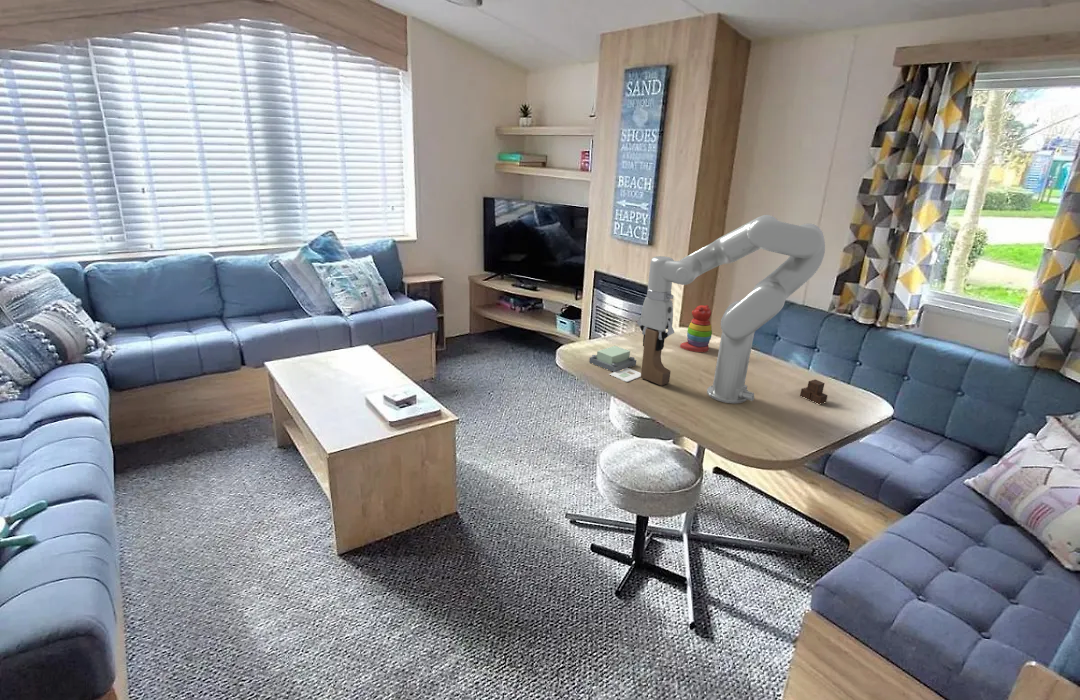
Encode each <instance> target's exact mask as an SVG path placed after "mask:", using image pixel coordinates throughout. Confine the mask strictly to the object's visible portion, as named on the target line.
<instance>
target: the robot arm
mask: <svg viewBox="0 0 1080 700" xmlns="http://www.w3.org/2000/svg"><path fill="white" fill-rule="evenodd" d="M759 250H763V251H764V250H765V251H768V252H772V253H777V254H781V255H785V256H788V258H786V259H785V261H784V262H782V263H781V264H780V265H779V266H778V267H777V268H775V270H773V271H772V272H771V273H770V274H768V275H767V276H766V277H764V278H763V279H761V280H760V281H759V282H758V283H756V284H755V286H754V287H753V288H752V290H751V291H750V292H749V293H748V294H747V295H745V297H744V298H742V299H741V300H736V301H734V302H732V303H730V304H729V306H727V307H726V309H725V311H724V313H723V315H722V317H721V320H720V330H721V337H720V341H719V348H718V352H717V353H718V354H717V359H716V365H715V370H714V371H715V372H714V377H713V382H712V385H710V386H708V387H707V389H706V394H707V395H708V396H709V397H710V398H712V399H713V400H716V401H718V402H722V403H726V404H742V403H744V402H746V401H751V402H753V401H754V400H755V393H754V392H752V391H749V390H748V385H747V384H746V379H747V374H748V373H747V372H748V369H749V368H748V367H749V362H750V359H751V352H752V347H753V342H754V337H755V333H756V331H757V330H758V329H760V328H762V327H763V326H764V325H765V324H767V323H768V322H770V320H772V319H773V318H775V316H777V315H778V314H779V312H781V311H782V309H783V308H784V305H785V303H786V300H787V299H788V298H789V297H791V296H792V295H793V294H794V293H795V292H797V291H798V290H799V289H800V288H801V287H803V285H805V283H808V281H809V280H810V279H811V278H813V277H814V276H815V274H816V273H817V271H818V270H819V268H820V266H821V265H822V262H823V260H824V257H825V251H826V242H825V235H824V232H823V230H822V229H821V227H819V226H818V225H817V224H815V223H804V224H801V225H799V224H794V223H789V222H785V221H784V222H783V221H780V220H778V219H777V218H776V217H775V216H773V215H770V214H763V215H760V216H758V217H755V218H754V219H752V220H750V221H748V222H747V223H745V224H743V225H740V226H739V227H738V228H736V229H734V230H731V231H730V232H728V233H726V234H724V235H722V236H720V237H719V238H716V239H715V240H714V241H713V242H711V243H709V244H707V245H705V246H704V247H701V248H699V249H698V250H695V251H694V252H693V253H692V252H691V253H690V254H689V255H687V256H685V257H683V258H681V259H680V260H674V259H673V258H672V257H669V256H661V255H660V256H659V255H658V256H657V255H656V256H653V257H652V258H651V259H650V264H649V273H648V284H647V293H646V296H645V297H644V301H643V304H642V307H641V313H640V314H641V315H640V318H638V320H637V321H636V324H637V325H638V326H639V328H640V331H641V334H642V335H643V338H642V346H643V347H644V340H645V331H646V328H651V329H654V330H658V337H659V339H657V344H656V351H660V350H663V349H664V346H665V339H667V338H668V337H669V336H671V335H674V334H675V330H674V327H673V321H674V306H673V298H674V295H673V294H672V287H673V283H674V284H677V285H680V286H681V285H682V286H686V285H689V284H691V283H693V282H694V281H695V280H696V278H698V277H699V276H701V275H703V274H705V273H706V272H709V271H711V270H713V269H715V268H717V267H719V266H722V265H727V264H728V265H729V264H732V263H735V262H737V261H738V260H741V259H742V258H745V257H747V256H748V255H750V254H752V253H755V252H756V251H759Z"/></svg>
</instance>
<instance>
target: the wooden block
mask: <svg viewBox="0 0 1080 700" xmlns="http://www.w3.org/2000/svg"><path fill="white" fill-rule="evenodd" d="M657 339H659V337H658V330H654V329H651V328H646V331H645V340H644V346H643V352H642V360H641V372H640V373H641V377H640V378H642V379H643V380H646V381H649V382H652V383H654V384H657V385H658V386H660V387H661V386H662V387H663V386H664V385H666V384H670V378H671V370H670V369H668V368H667V367H665V366H664V364H663V363H662V350H663V349H662V350H660V351H656V344H657Z"/></svg>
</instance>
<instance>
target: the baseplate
mask: <svg viewBox="0 0 1080 700" xmlns="http://www.w3.org/2000/svg"><path fill="white" fill-rule="evenodd" d="M596 352H597V353H596V354H592V355H591V356H590V357H589V361H588V362H590V363H589V364H591V363H593V364H592V365H594V364H595V365H594V366H596V365H598V366H597V367H599V366H600V368H601V367H603V368H602V369H604V368H605V369H604V370H606V369H608V370H607V371H609V370H610V371H609V372H611V371H613V372H616V371H619V370H622V369H625V368H628V367H630V368H632V367H635V366H636V365H637V360H636V359H635V357H633V356H630V355H631V350H629V349H627V348H626V349H625V348H623V347H620V346H617V345H613V346H609V347H606V348H603V349H600V350H597V351H596ZM631 366H632V367H631ZM613 372H612V373H613Z"/></svg>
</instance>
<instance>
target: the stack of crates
mask: <svg viewBox="0 0 1080 700" xmlns="http://www.w3.org/2000/svg"><path fill="white" fill-rule="evenodd" d="M824 388H825V382H823V381H820V380H818V379H812V380H809V381H808V383H807V386H806V387H803V388H801V390H800V394H799V397H800V396H802V397H805V398H807V399H810V400H811V401H814V402H816V403H818V404H820V403H824V402H826V403H827V400H828V394H826V393H824ZM802 397H801V398H802ZM805 398H804V399H805ZM807 399H806V400H807ZM810 400H809V401H810ZM811 401H810V402H811ZM814 402H813V403H814ZM816 403H815V404H816ZM818 404H817V405H818ZM824 404H825V403H824Z"/></svg>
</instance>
